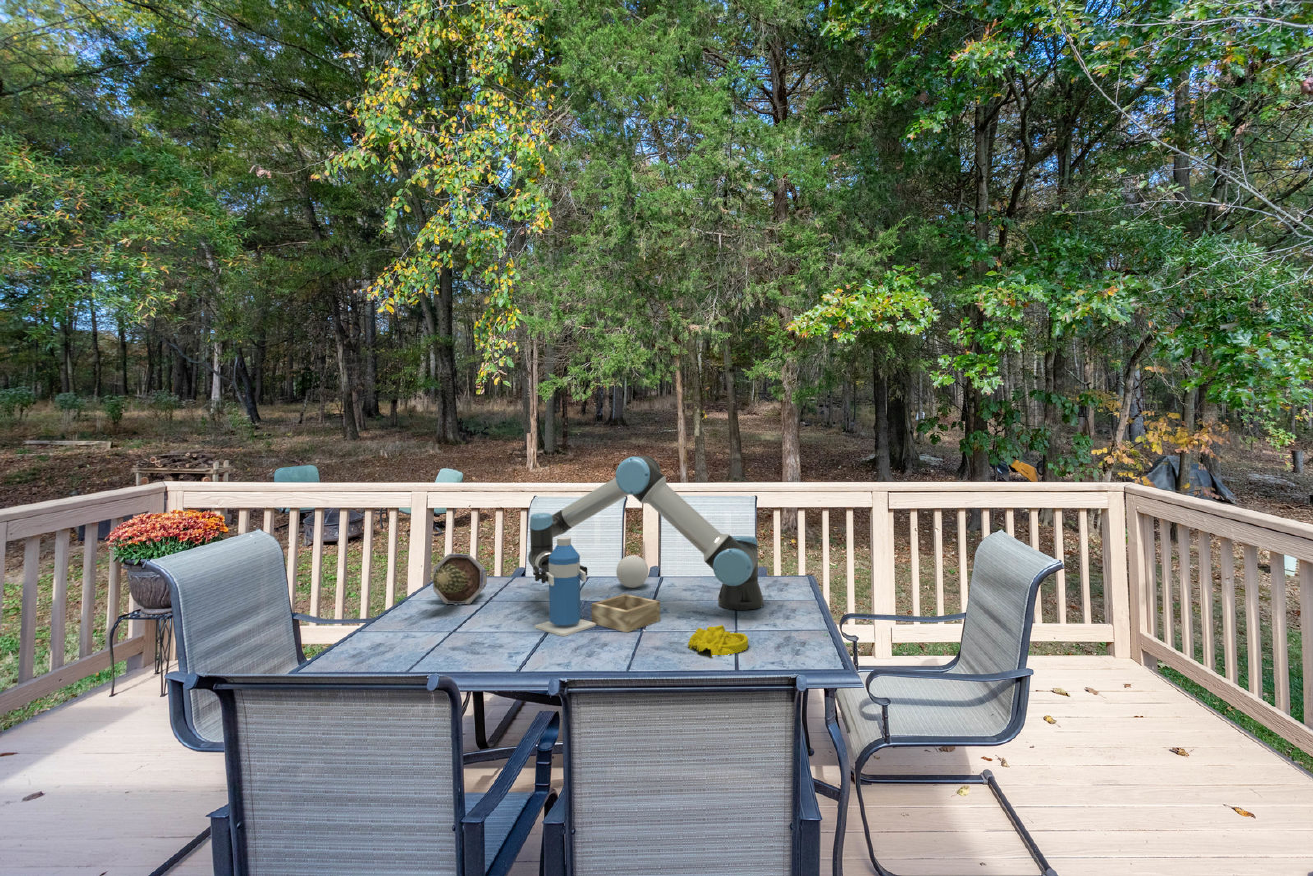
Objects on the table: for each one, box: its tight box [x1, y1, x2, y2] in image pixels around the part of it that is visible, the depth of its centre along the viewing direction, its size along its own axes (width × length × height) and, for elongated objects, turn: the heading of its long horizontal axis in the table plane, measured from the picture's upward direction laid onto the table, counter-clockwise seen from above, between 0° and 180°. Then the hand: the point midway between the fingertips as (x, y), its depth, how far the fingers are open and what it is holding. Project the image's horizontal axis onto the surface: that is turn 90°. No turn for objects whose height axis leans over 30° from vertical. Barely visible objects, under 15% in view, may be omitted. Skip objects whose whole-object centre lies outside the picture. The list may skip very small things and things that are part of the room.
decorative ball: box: [616, 554, 649, 589], centre depth 246 cm, size 12×12×12 cm
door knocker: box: [687, 624, 749, 658], centre depth 180 cm, size 16×16×4 cm
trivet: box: [534, 618, 597, 637], centre depth 198 cm, size 13×13×1 cm
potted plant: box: [432, 553, 488, 605], centre depth 224 cm, size 18×18×30 cm
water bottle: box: [548, 536, 582, 625], centre depth 198 cm, size 9×9×25 cm
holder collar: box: [590, 593, 661, 633], centre depth 203 cm, size 15×15×6 cm
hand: (568, 579), depth 194 cm, fingers closed on water bottle, 9 cm apart
